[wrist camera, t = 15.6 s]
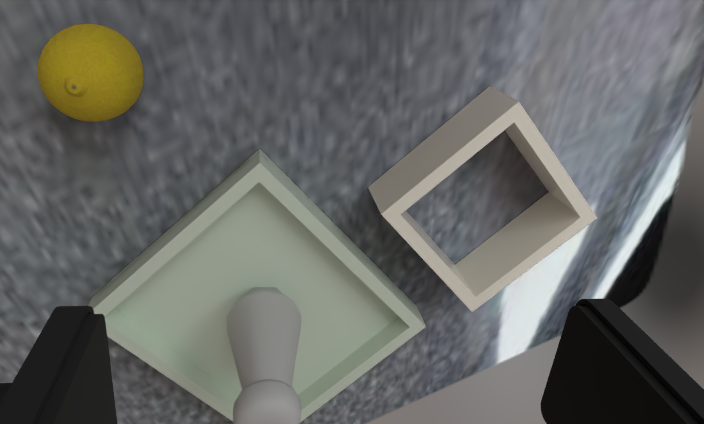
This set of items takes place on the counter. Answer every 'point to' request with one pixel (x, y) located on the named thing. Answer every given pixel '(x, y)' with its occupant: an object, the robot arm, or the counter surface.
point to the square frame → (514, 238)
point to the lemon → (90, 72)
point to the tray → (241, 277)
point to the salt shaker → (265, 357)
